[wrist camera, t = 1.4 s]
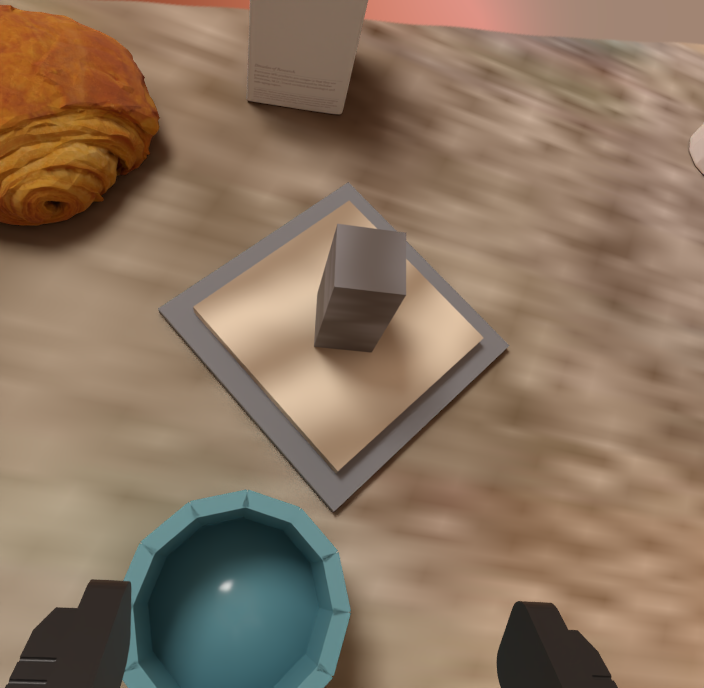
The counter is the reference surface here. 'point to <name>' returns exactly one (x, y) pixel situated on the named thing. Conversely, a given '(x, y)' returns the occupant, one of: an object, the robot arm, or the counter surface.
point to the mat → (267, 414)
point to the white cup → (698, 148)
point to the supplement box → (303, 52)
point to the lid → (339, 331)
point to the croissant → (65, 116)
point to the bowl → (236, 598)
